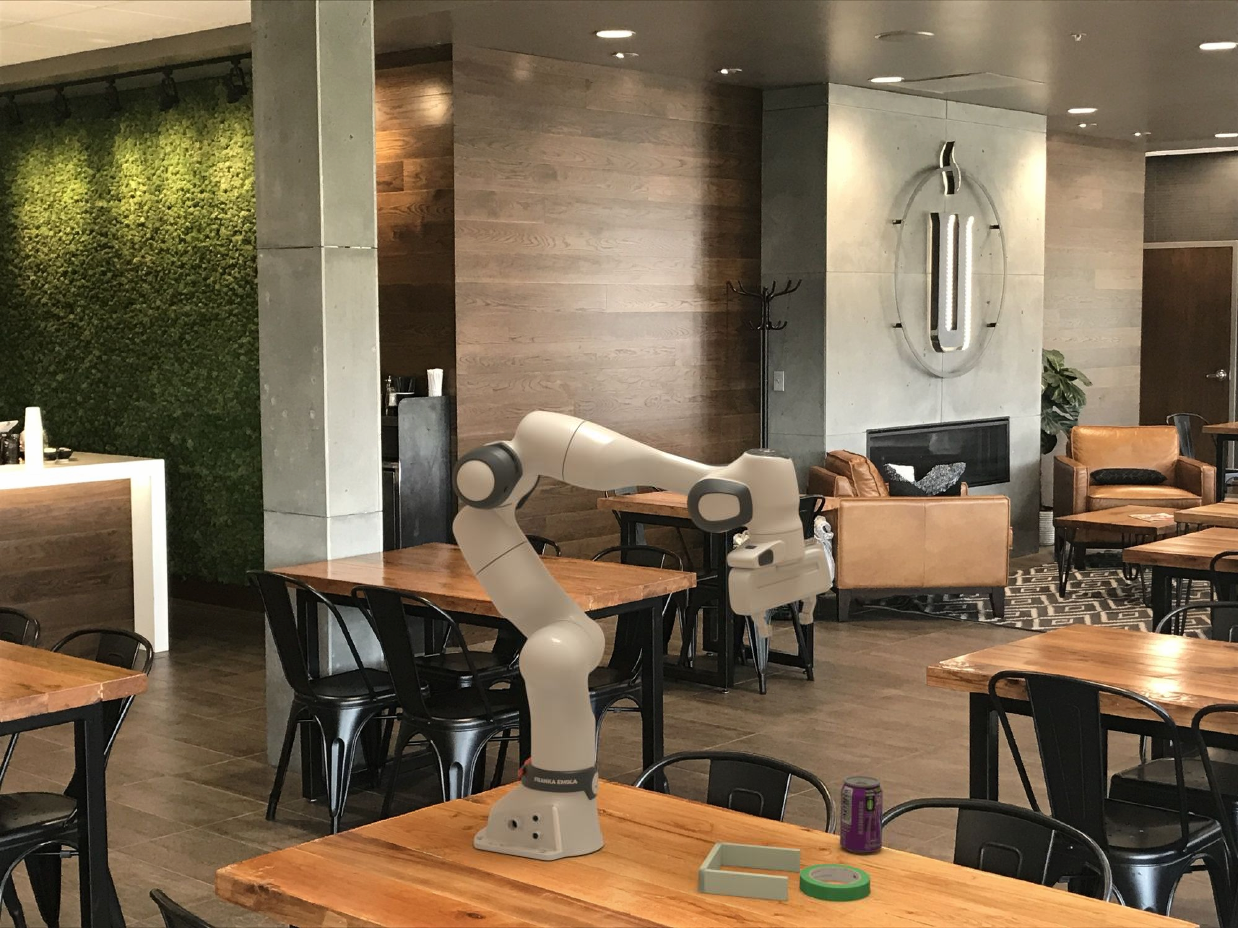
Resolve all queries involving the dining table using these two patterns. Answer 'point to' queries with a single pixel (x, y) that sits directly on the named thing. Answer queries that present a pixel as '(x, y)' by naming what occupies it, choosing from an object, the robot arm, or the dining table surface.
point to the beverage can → (861, 814)
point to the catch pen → (748, 882)
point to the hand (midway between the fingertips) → (786, 629)
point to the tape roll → (818, 889)
